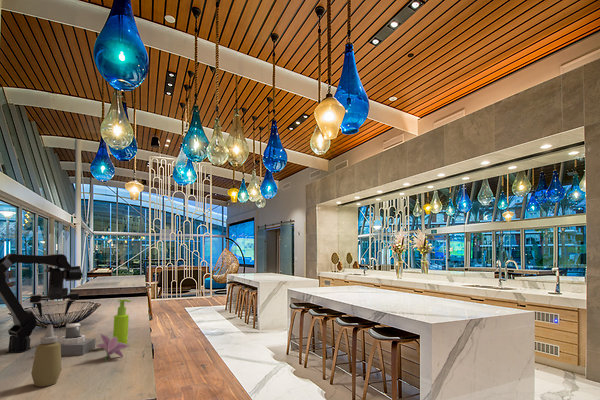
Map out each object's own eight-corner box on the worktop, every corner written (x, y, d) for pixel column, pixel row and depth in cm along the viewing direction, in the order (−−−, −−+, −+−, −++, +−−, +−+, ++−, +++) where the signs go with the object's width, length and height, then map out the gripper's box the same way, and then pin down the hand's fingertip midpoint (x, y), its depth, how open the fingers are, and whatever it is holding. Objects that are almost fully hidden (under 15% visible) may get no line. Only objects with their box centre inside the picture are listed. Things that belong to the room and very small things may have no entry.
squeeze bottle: (39, 380, 127) (44, 323, 129) (65, 379, 128) (69, 322, 130) (24, 389, 119) (29, 327, 121) (52, 388, 120) (56, 327, 122)
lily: (130, 362, 151) (135, 337, 157) (103, 356, 143) (110, 330, 149) (110, 368, 156) (116, 344, 162) (83, 362, 148) (90, 337, 153)
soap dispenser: (123, 348, 169) (126, 300, 171) (109, 347, 170) (112, 300, 173) (132, 345, 174) (134, 299, 177) (118, 344, 176) (120, 298, 178)
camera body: (45, 356, 156) (47, 340, 157) (61, 348, 168) (62, 334, 169) (82, 355, 158) (83, 339, 158) (95, 347, 169) (96, 333, 170)
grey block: (70, 343, 160) (71, 325, 161) (62, 342, 162) (63, 324, 163) (82, 341, 165) (83, 323, 165) (73, 340, 167) (75, 322, 168)
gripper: (31, 284, 167) (28, 321, 165) (81, 282, 178) (79, 317, 176) (31, 282, 176) (28, 318, 174) (78, 280, 187) (76, 314, 185)
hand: (53, 317), depth 177 cm, fingers open, 9 cm apart
